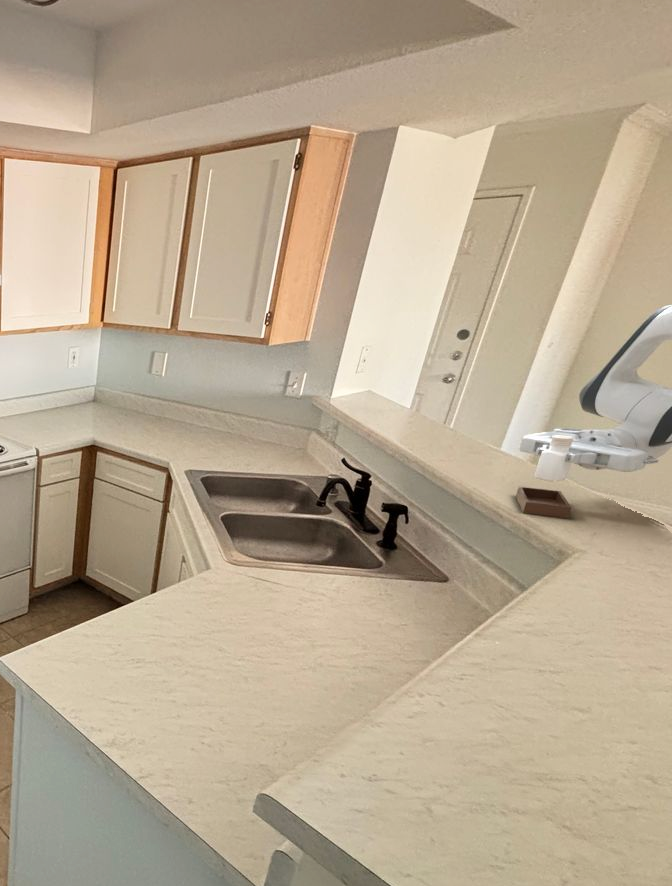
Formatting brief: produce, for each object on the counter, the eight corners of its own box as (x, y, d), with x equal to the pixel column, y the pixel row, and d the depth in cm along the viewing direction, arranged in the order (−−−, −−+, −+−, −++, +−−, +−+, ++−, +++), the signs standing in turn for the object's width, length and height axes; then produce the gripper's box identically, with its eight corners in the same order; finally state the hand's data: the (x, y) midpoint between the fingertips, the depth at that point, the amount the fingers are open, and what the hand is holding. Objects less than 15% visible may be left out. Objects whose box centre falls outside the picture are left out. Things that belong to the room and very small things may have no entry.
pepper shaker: (553, 482, 126) (568, 439, 123) (532, 477, 129) (545, 435, 126) (566, 480, 127) (581, 437, 124) (544, 475, 130) (557, 434, 127)
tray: (515, 496, 137) (518, 486, 136) (557, 501, 133) (560, 491, 132) (522, 512, 127) (526, 501, 127) (568, 518, 123) (571, 507, 123)
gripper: (658, 475, 121) (610, 482, 118) (542, 452, 139) (498, 458, 136) (669, 445, 119) (621, 452, 115) (550, 426, 137) (506, 432, 134)
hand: (553, 455), depth 126 cm, fingers closed on pepper shaker, 4 cm apart
